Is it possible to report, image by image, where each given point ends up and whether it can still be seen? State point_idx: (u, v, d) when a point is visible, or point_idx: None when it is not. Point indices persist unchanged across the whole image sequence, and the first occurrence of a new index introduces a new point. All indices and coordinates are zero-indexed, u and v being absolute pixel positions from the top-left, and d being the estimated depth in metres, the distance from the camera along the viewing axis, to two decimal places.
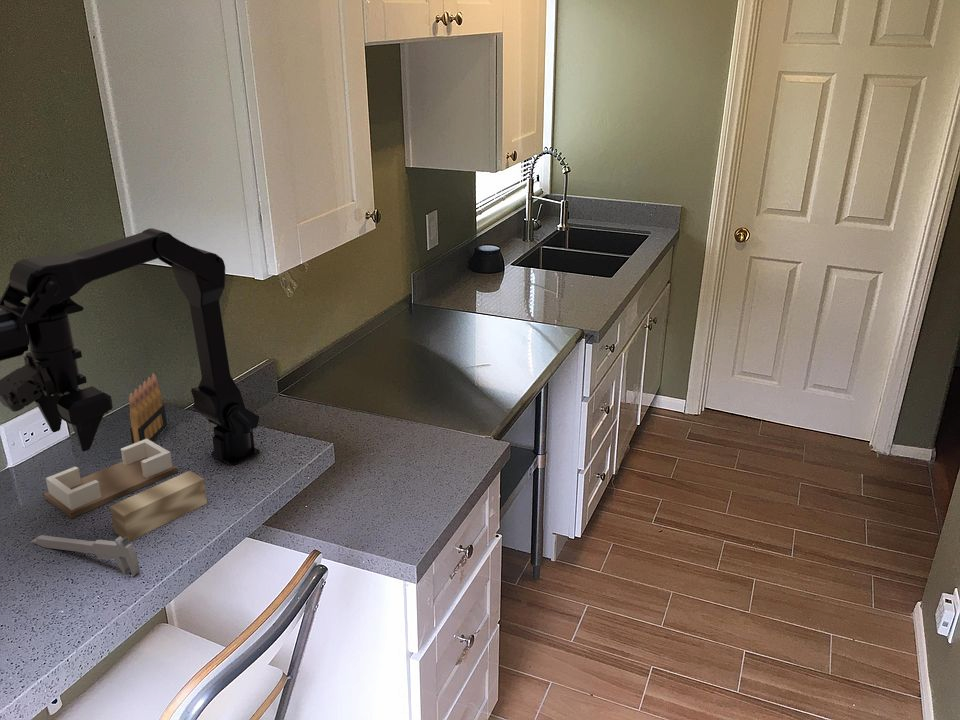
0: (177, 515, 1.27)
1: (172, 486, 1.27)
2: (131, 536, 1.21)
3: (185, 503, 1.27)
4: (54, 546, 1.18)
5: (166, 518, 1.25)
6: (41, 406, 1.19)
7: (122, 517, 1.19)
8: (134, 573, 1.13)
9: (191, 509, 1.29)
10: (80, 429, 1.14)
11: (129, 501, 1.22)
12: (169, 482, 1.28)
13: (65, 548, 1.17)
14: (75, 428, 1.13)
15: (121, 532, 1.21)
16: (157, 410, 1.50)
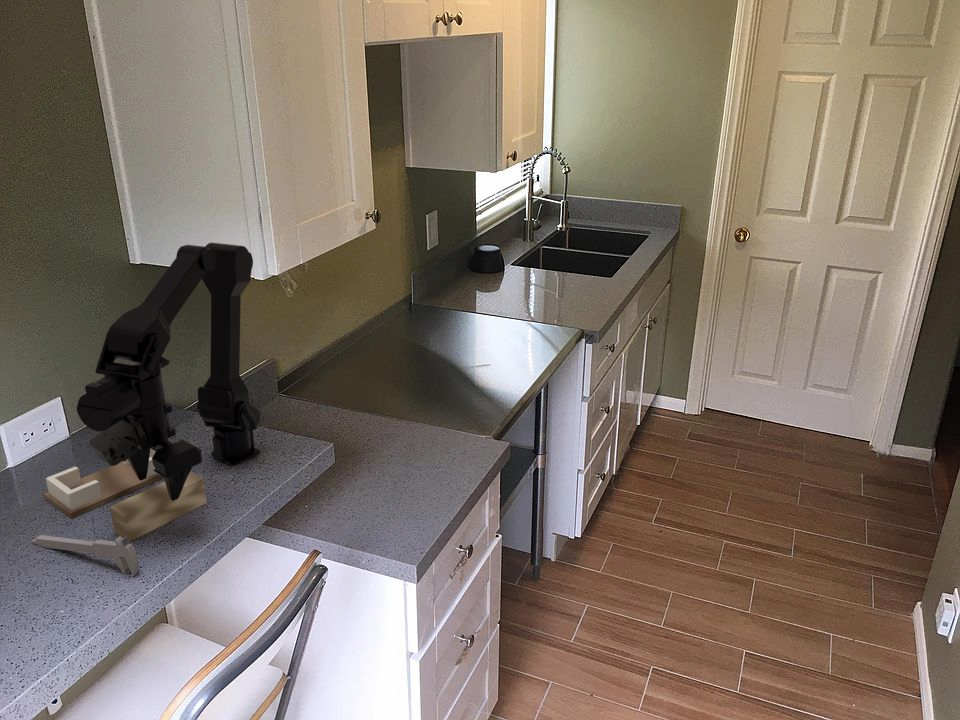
0: (177, 515, 1.27)
1: None
2: (132, 537, 1.21)
3: (185, 502, 1.27)
4: (54, 546, 1.18)
5: (166, 518, 1.25)
6: (130, 456, 1.25)
7: (123, 517, 1.19)
8: (134, 573, 1.13)
9: (191, 509, 1.29)
10: (171, 481, 1.19)
11: (129, 501, 1.22)
12: None
13: (65, 548, 1.17)
14: (167, 480, 1.19)
15: (121, 533, 1.21)
16: None
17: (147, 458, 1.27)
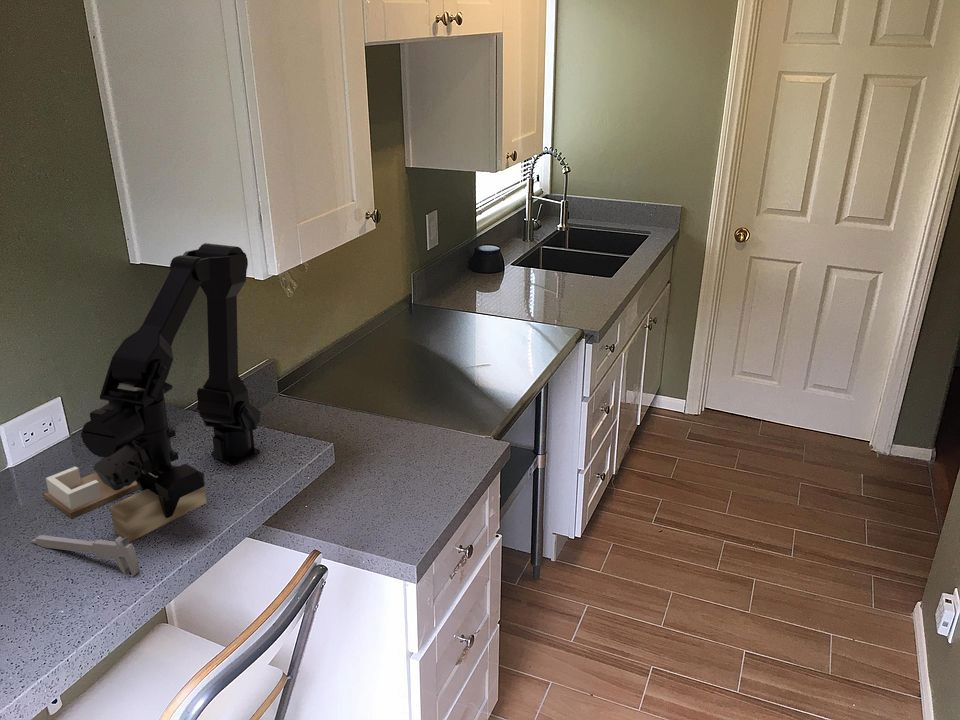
0: (177, 514, 1.27)
1: None
2: (132, 536, 1.21)
3: (185, 502, 1.27)
4: (54, 546, 1.18)
5: None
6: (141, 484, 1.25)
7: (123, 517, 1.19)
8: (134, 573, 1.13)
9: (191, 508, 1.29)
10: (165, 499, 1.22)
11: (129, 501, 1.22)
12: None
13: (65, 548, 1.17)
14: (161, 498, 1.22)
15: (121, 532, 1.21)
16: None
17: None
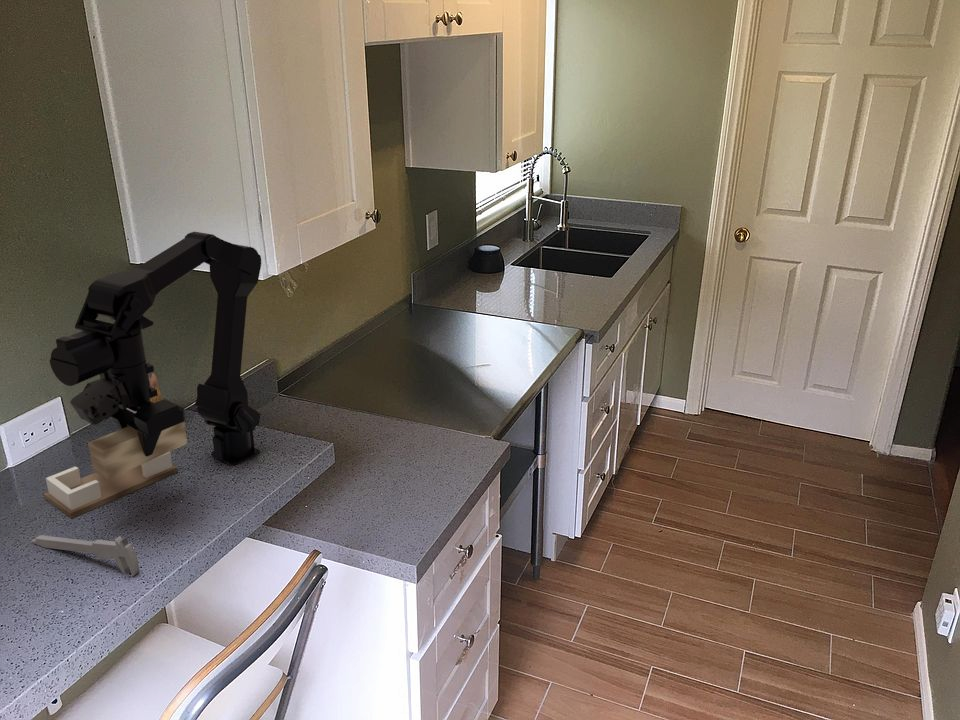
0: (157, 453, 1.25)
1: None
2: (111, 473, 1.19)
3: (165, 441, 1.26)
4: (54, 546, 1.18)
5: None
6: (120, 423, 1.23)
7: (101, 452, 1.17)
8: (134, 573, 1.13)
9: (171, 448, 1.27)
10: (145, 436, 1.20)
11: (107, 438, 1.20)
12: None
13: (65, 548, 1.17)
14: (140, 434, 1.20)
15: (100, 469, 1.19)
16: None
17: None
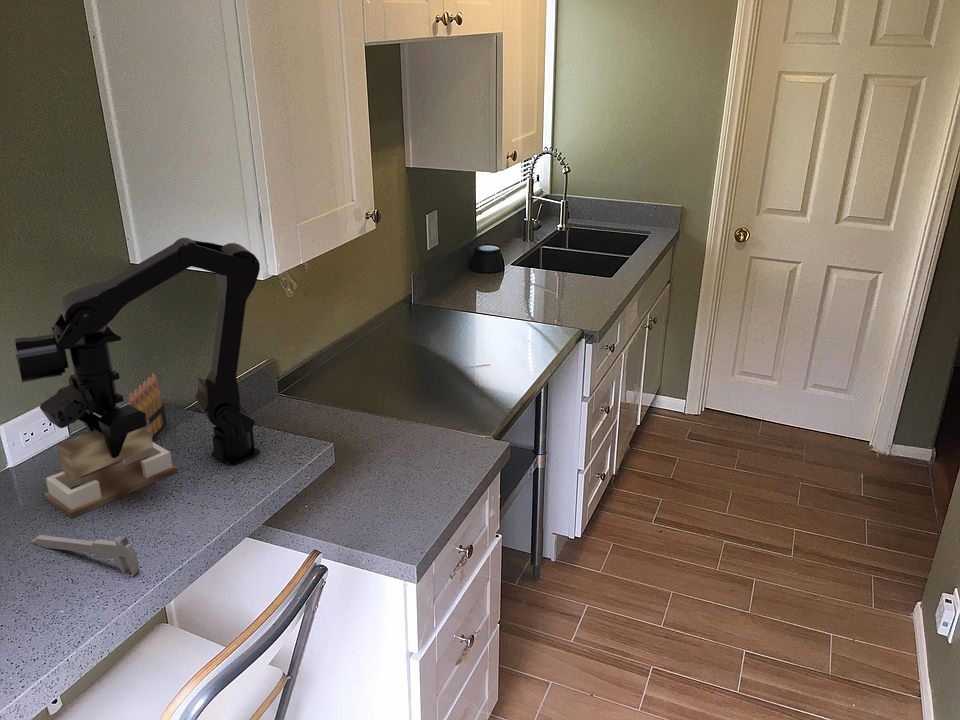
0: (123, 455, 1.33)
1: None
2: (77, 473, 1.27)
3: (131, 443, 1.34)
4: (53, 546, 1.18)
5: None
6: (89, 426, 1.31)
7: (68, 454, 1.25)
8: (134, 573, 1.13)
9: (137, 450, 1.35)
10: (110, 439, 1.28)
11: (75, 440, 1.28)
12: None
13: (64, 548, 1.17)
14: (106, 437, 1.28)
15: (68, 469, 1.27)
16: (157, 410, 1.50)
17: None
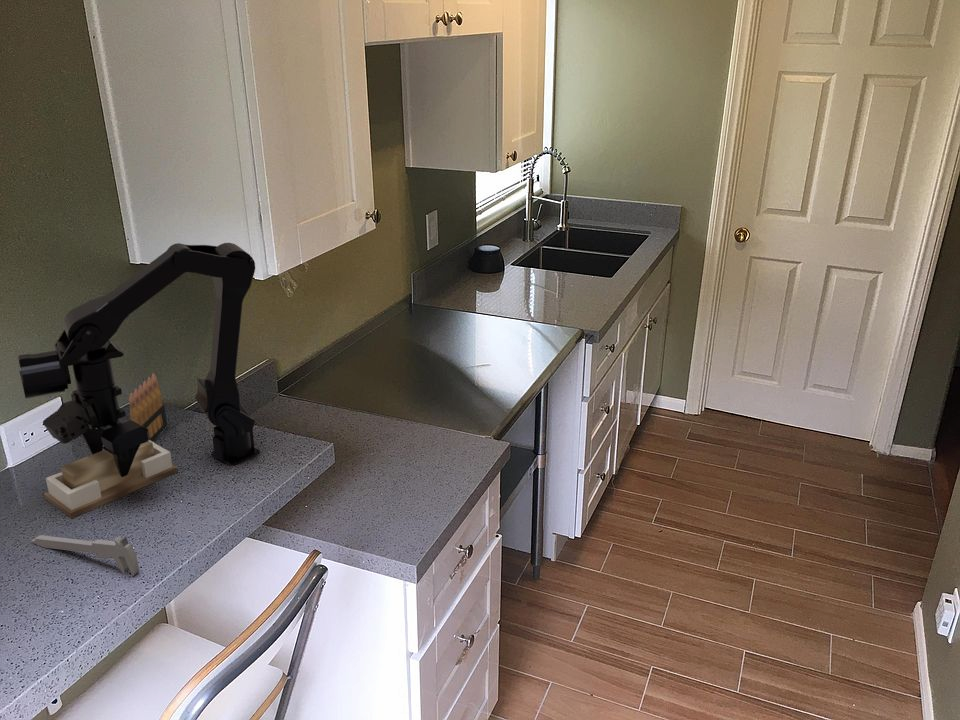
0: (126, 477, 1.35)
1: None
2: None
3: (134, 465, 1.35)
4: (53, 546, 1.18)
5: (115, 479, 1.33)
6: (85, 437, 1.34)
7: (72, 476, 1.27)
8: (133, 573, 1.13)
9: (140, 471, 1.36)
10: (120, 458, 1.28)
11: (79, 462, 1.30)
12: None
13: (64, 548, 1.17)
14: (115, 457, 1.28)
15: None
16: (157, 410, 1.50)
17: (102, 439, 1.36)
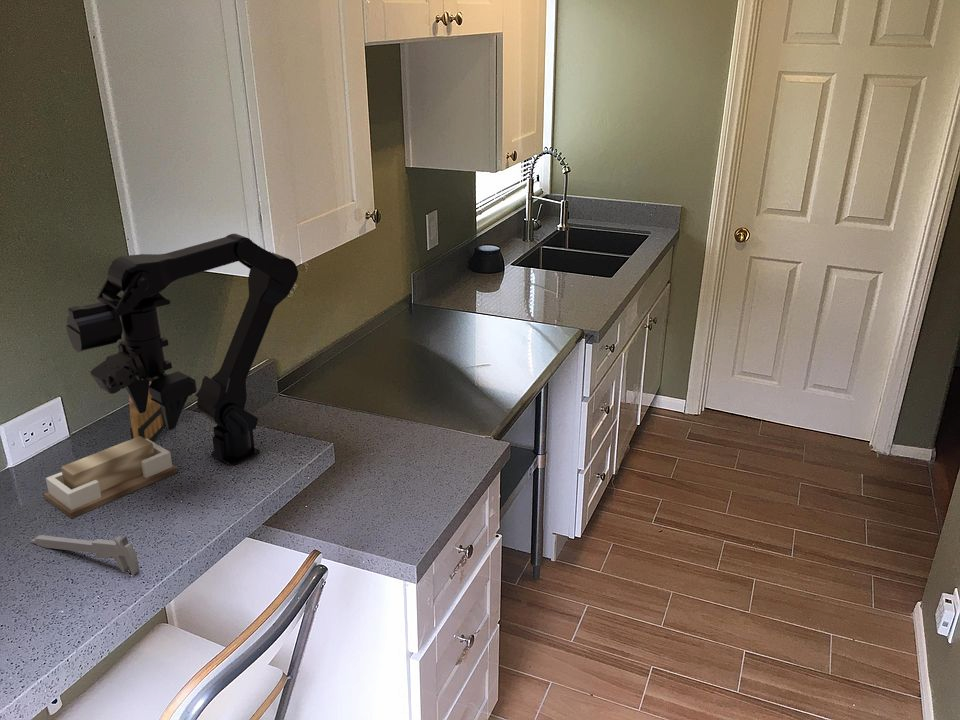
0: (126, 477, 1.35)
1: (122, 449, 1.35)
2: None
3: (134, 465, 1.35)
4: (53, 546, 1.18)
5: (115, 479, 1.33)
6: (130, 389, 1.32)
7: (72, 476, 1.27)
8: (134, 572, 1.13)
9: (140, 471, 1.36)
10: (168, 410, 1.27)
11: (79, 462, 1.30)
12: (119, 446, 1.36)
13: (64, 548, 1.17)
14: (163, 409, 1.26)
15: None
16: (157, 410, 1.50)
17: (146, 392, 1.35)
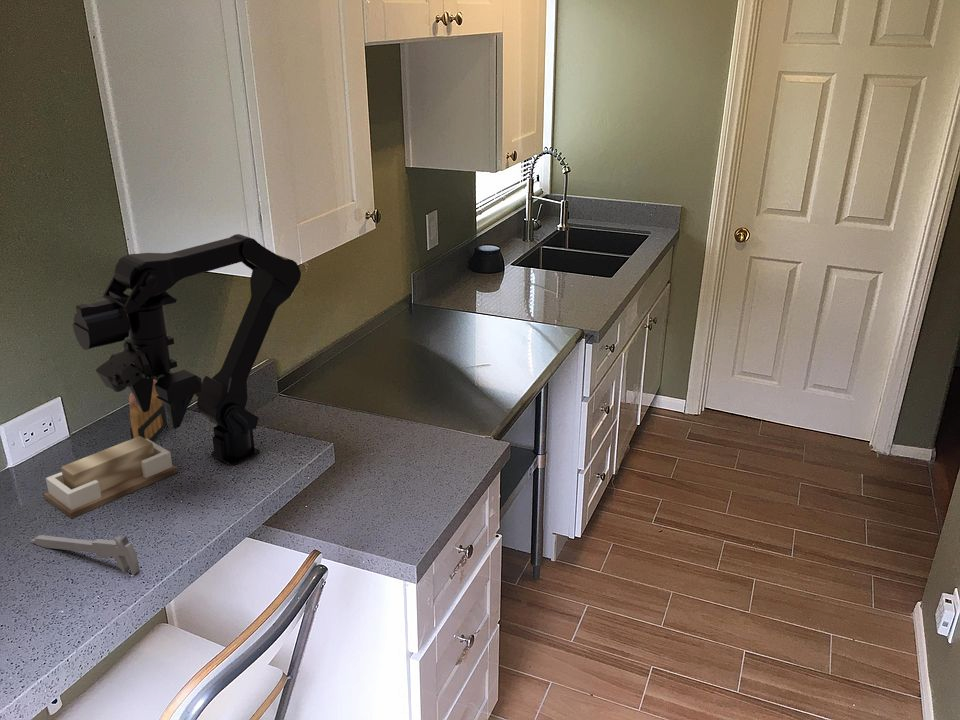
0: (126, 477, 1.35)
1: (122, 449, 1.35)
2: None
3: (134, 465, 1.35)
4: (53, 546, 1.18)
5: (115, 479, 1.33)
6: (134, 388, 1.32)
7: (72, 476, 1.27)
8: (134, 572, 1.13)
9: (140, 471, 1.36)
10: (173, 408, 1.27)
11: (79, 462, 1.30)
12: (119, 446, 1.36)
13: (64, 548, 1.17)
14: (169, 407, 1.26)
15: None
16: (157, 410, 1.50)
17: (150, 391, 1.35)
